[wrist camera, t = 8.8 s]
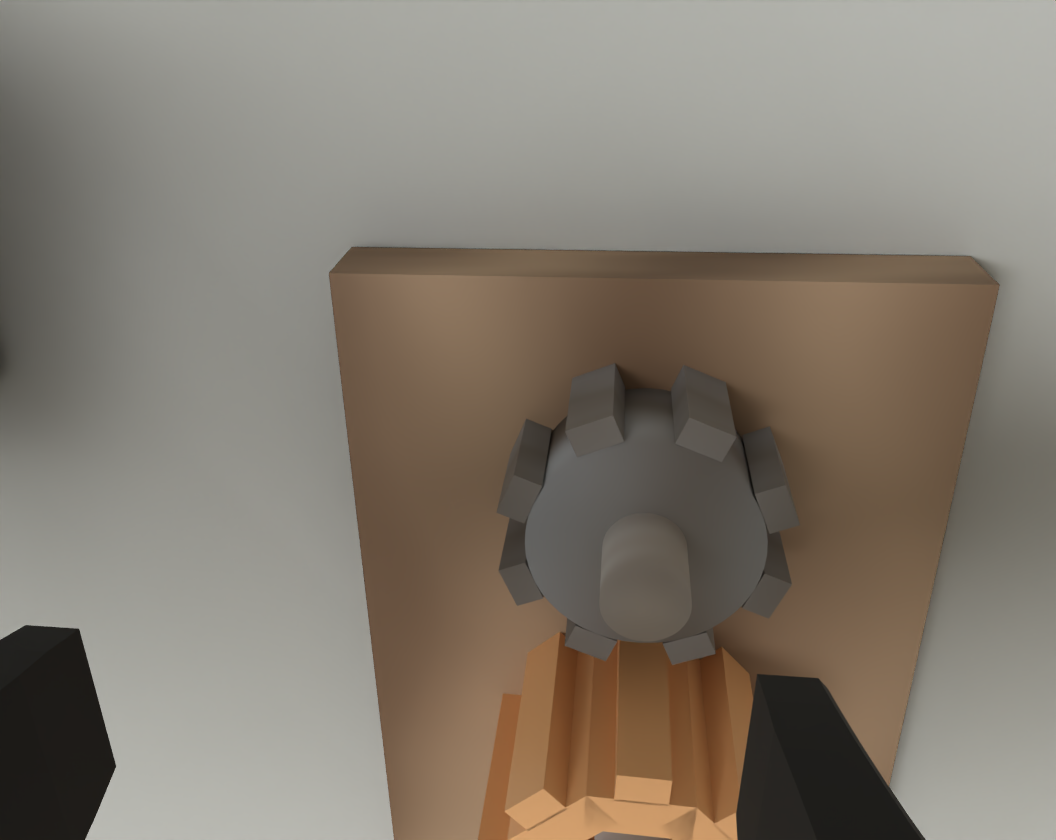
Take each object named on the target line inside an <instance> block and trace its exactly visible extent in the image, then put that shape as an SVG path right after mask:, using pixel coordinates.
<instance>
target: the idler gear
mask: <svg viewBox="0 0 1056 840" xmlns="http://www.w3.org/2000/svg"><path fill="white" fill-rule="evenodd" d="M564 645H565V636H564V635H563V634H562V633H561V632H559V633H557V634H555V635H554V636H552V637H551V638H549V639H548V640H546V641H545V642H543V643H542V644H540V645H539V646H537V647H536V648H534V649H533V650H531V651H530V652H528V654H527V661H526V668H525V675H524V682H523V688H522V695H514V694H504V693H503V696H502V702H501V707H500V713H499V719H498V725H497V731H496V737H495V742H494V748H493V754H492V760H491V766H490V772H489V777H488V783H487V789H486V795H485V801H484V807H483V812H482V818H481V824H480V830H479V836H478V840H594V836H595V835H597V834H599V833H601V832H602V831H604V832H613V833H623V834H632V835H641V836H650V837H660V838H669V839H670V840H738V839H737V824H736V811H737V804H738V797H739V791H740V784H741V778H742V771H743V764H744V758H745V751H746V744H747V738H748V731H749V724H750V718H751V711H752V704H753V694H752V688H751V681H750V675H749V673H748V672H747V671H746V670H745V669H744V668H743V667H742V666H741V665H740V664H739V663H738V662H737V661H736V660H735V659H734V658H733V657H732V656H731V655H730V654H729V653H728V652H727V651H726V650H725V649H724V648H723V647H720V648H719V649H717V650H715V651H716V654H714V655H710V656H706V657H704V658H702V659H699V658H698V659H694V660H690V661H686V662H682V663H678V664H674V665H672V663H671V661H670V659H669V657H668V655H667V653H666V650H665V648H664V646H663V642H659V643H637V642H627V641H621V640H617V643H616V645H615V646H614V648H613V650H612V652H611V653H610V655H609V657H608V658H607V660H606V661H603V660H601V659H598V658H596V657H593V656H590V655H588V654H585V653H582V652H580V651H577V650H574V649H572V648H569V647H566V646H564Z"/></svg>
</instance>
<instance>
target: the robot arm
mask: <svg viewBox="0 0 1056 840" xmlns="http://www.w3.org/2000/svg"><path fill="white" fill-rule="evenodd" d="M115 768H116V764H115V761H114V757H113V753H112V749H111V746H110V742H109V738H108V735H107V731H106V727H105V723H104V720H103V716H102V712H101V709H100V705H99V701H98V697H97V694H96V690H95V686H94V683H93V679H92V675H91V671H90V668H89V664H88V660H87V657H86V653H85V649H84V645H83V642H82V638H81V634H80V631H79V629H74V628H59V627H44V626H29V625H25V626H23V627H22V628H20V629H18V630H17V631H15V632H13V633H11V634H10V635H8V636H6V637H5V638H3V639H1V640H0V840H85V838H86V836H87V834H88V832H89V829H90V827H91V825H92V823H93V821H94V818H95V816H96V814H97V811H98V809H99V806H100V804H101V802H102V799H103V797H104V794H105V792H106V790H107V787H108V785H109V782H110V780H111V777H112V775H113V773H114V770H115ZM736 824H737V839H738V840H925V838H924V837H923V836H922V834H921V833H920V831H919V830H918V829H917V827H916V826H915V824H914V823H913V822H912V820H911V819H910V817H909V816H908V814H907V813H906V811H905V810H904V808H903V807H902V806H901V804H900V803H899V801H898V800H897V798H896V797H895V795H894V794H893V792H892V791H891V789H890V788H889V786H888V785H887V783H886V782H885V780H884V778H883V777H882V775H881V774H880V772H879V771H878V769H877V768H876V766H875V765H874V763H873V762H872V760H871V759H870V757H869V755H868V754H867V752H866V751H865V749H864V748H863V746H862V744H861V743H860V741H859V740H858V738H857V736H856V735H855V733H854V732H853V730H852V728H851V727H850V725H849V723H848V722H847V720H846V718H845V717H844V715H843V713H842V712H841V710H840V708H839V707H838V705H837V703H836V702H835V700H834V698H833V697H832V695H831V693H830V691H829V690H828V688H827V687H826V686H825V685H824V684H823V683H822V682H821V680H820V679H819V678H810V677H795V676H780V675H765V674H757V678H756V684H755V691H754V698H753V704H752V711H751V718H750V724H749V731H748V738H747V744H746V751H745V758H744V764H743V771H742V778H741V784H740V791H739V797H738V804H737V811H736Z"/></svg>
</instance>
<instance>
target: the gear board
mask: <svg viewBox="0 0 1056 840" xmlns="http://www.w3.org/2000/svg"><path fill="white" fill-rule="evenodd" d="M329 279H330V287H331V296H332V305H333V313H334V322H335V331H336V339H337V348H338V357H339V365H340V374H341V383H342V391H343V400H344V409H345V417H346V426H347V435H348V443H349V452H350V461H351V469H352V478H353V487H354V495H355V504H356V513H357V521H358V530H359V539H360V548H361V556H362V565H363V574H364V582H365V591H366V600H367V608H368V617H369V626H370V634H371V643H372V652H373V660H374V669H375V678H376V686H377V695H378V704H379V712H380V721H381V730H382V738H383V747H384V756H385V764H386V773H387V782H388V790H389V799H390V808H391V816H392V825H393V834H394V840H478V836H479V830H480V824H481V818H482V812H483V807H484V801H485V795H486V789H487V783H488V777H489V772H490V766H491V760H492V754H493V748H494V742H495V737H496V731H497V725H498V719H499V713H500V707H501V702H502V696H503V693H504V694H514V695H522V688H523V682H524V675H525V668H526V661H527V654H528V652H530V651H531V650H533V649H534V648H536V647H537V646H539V645H540V644H542V643H543V642H545V641H546V640H548V639H549V638H551V637H552V636H554V635H555V634H557V633H559V632H561V633H562V634H563V635H564V636H565V645H564V646H566V647H569V648H572V649H574V650H577V651H580V652H582V653H585V654H588V655H590V656H593V657H596V658H598V659H601V660H603V661H606V660H607V658H608V657H609V655H610V653H611V652H612V650H613V648H614V646H615V645H616V643H617V640H621V641H627V642H637V643H659V642H663V646H664V648H665V650H666V653H667V655H668V657H669V659H670V661H671V663H672V665H674V664H678V663H682V662H686V661H690V660H694V659H698V658H699V659H702V658H704V657H706V656H710V655H714V654H716V651H715V650H717V649H719V648H720V647H723V648H724V649H725V650H726V651H727V652H728V653H729V654H730V655H731V656H732V657H733V658H734V659H735V660H736V661H737V662H738V663H739V664H740V665H741V666H742V667H743V668H744V669H745V670H746V671H747V672H748V673H749V675H750V681H751V688H752V694H753V698H754V691H755V684H756V678H757V674H765V675H780V676H795V677H810V678H819V679H820V680H821V682H822V683H823V684H824V685H825V686H826V687H827V688H828V690H829V691H830V693H831V695H832V697H833V698H834V700H835V702H836V703H837V705H838V707H839V708H840V710H841V712H842V713H843V715H844V717H845V718H846V720H847V722H848V723H849V725H850V727H851V728H852V730H853V732H854V733H855V735H856V736H857V738H858V740H859V741H860V743H861V744H862V746H863V748H864V749H865V751H866V752H867V754H868V755H869V757H870V759H871V760H872V762H873V763H874V765H875V766H876V768H877V769H878V771H879V772H880V774H881V775H882V777H883V778H884V780H885V782H886V783H887V785H888V786H889V784H890V779H891V775H892V770H893V766H894V761H895V757H896V752H897V748H898V743H899V739H900V734H901V730H902V725H903V720H904V716H905V711H906V707H907V702H908V698H909V693H910V689H911V684H912V680H913V675H914V671H915V666H916V662H917V657H918V653H919V648H920V643H921V639H922V634H923V630H924V625H925V621H926V616H927V612H928V607H929V603H930V598H931V594H932V589H933V585H934V580H935V575H936V571H937V566H938V562H939V557H940V553H941V548H942V544H943V539H944V535H945V530H946V526H947V521H948V517H949V512H950V507H951V503H952V498H953V494H954V489H955V485H956V480H957V476H958V471H959V467H960V462H961V458H962V453H963V449H964V444H965V440H966V435H967V430H968V426H969V421H970V417H971V412H972V408H973V403H974V399H975V394H976V390H977V385H978V381H979V376H980V372H981V367H982V362H983V358H984V353H985V349H986V344H987V340H988V335H989V331H990V326H991V322H992V317H993V313H994V308H995V304H996V299H997V295H998V290H999V284H998V283H997V282H996V281H995V280H994V279H993V278H992V277H991V276H990V275H989V274H988V273H987V272H986V271H985V270H984V269H983V268H982V267H981V266H980V265H979V264H978V263H977V262H976V261H975V260H974V259H973V258H972V257H971V256H917V255H849V254H782V253H714V252H647V251H580V250H512V249H445V248H377V247H351V249H350V250H349V251H348V252H347V253H346V254H345V255H344V257H343V258H342V259H341V260H340V261H339V262H338V263H337V265H336V266H335V267H334V268H333V269H332V270H331V271H330V272H329ZM594 840H670V839H669V838H660V837H650V836H641V835H632V834H623V833H613V832H604V831H602V832H601V833H599V834H597V835H595V836H594Z"/></svg>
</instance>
